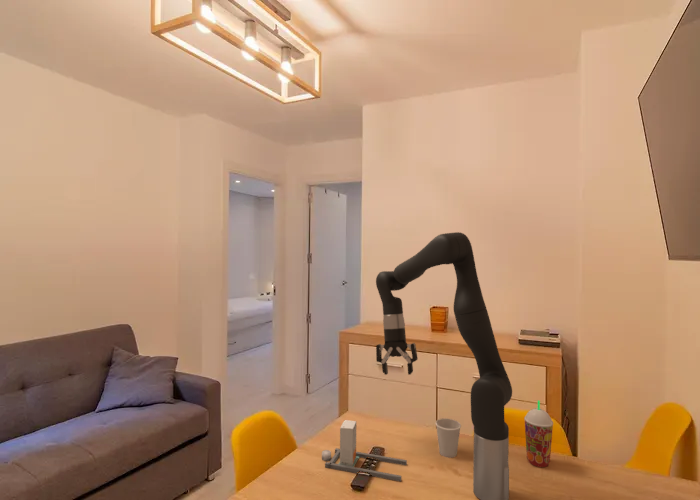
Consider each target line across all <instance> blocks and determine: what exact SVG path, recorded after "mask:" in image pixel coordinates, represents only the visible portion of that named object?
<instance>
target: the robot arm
mask: <svg viewBox="0 0 700 500" xmlns="http://www.w3.org/2000/svg"><path fill="white" fill-rule="evenodd" d="M440 265H441V266H442V265H453V267H454V273H455V276H456V289H455V293H454V300H453V314H454V317H455V322H456V325H457V329H458V331H459V333H460V334H459V335H460V336H461V338H462V339H463V341H464V343H465V344H466V345H467V347H468V348H469V350H470V351H471V353H472V354H473V356H474V358H475V361H476V366H477V369H478V374H479V378H478V379H477V380H476V381H474V383H473V384H472V386H471V388H470V418H471V422H472V425H473V466H472V467H473V472H472V473H473V477H472V478H473V483H472V486H473V488H472V489H473V491H472V492H473V493H474V495H475V498H478V499H479V500H510V465H509V453H510V452H509V449H510V448H509V447H510V446H509V445H510V444H509V443H510V442H509V441H510V440H509V438H510V436H509V435H510V434H509V433H510V432H509V429H510V428H509V425H508V424H507V422H506V421H505V406H506V405H507V404H508V403H509V402H510V401H511V399H512V396H513V387H512V384H511V381H510V379H509V375H508V372H507V371H506V368H505V366H504V363H503V361H502V358H501V355H500V353H499V350H498V345H497V342H496V338H495V335H494V331H493V327H492V324H491V320H490V315H489V313H488V312H489V311H488V309H487V305H486V303H485V300H484V297H483V292H482V289H481V285H480V281H479V277H478V273H477V272H478V271H477V268H476V262H475V257H474V252H473V246H472V243H471V241H470V239H469V238H468V236H467V235H466V234H465V233H463V232H460V231H459V232H458V231H457V232H447V233H440V234H438V235H437V236H435V237H434V238H432V239H431V241H429V242H428V243H427V244H426V245H425V246H424V247H423V248H422V249H420V251H418V252H417V253H416V254H415V255H413V256H411V257H410V258H408V259H406V260H405V261H403V262H401V263H399V264H398V265H397V266H396V267H395V268H394V270H393V271H392V270H391V271H387V270H386V271H385V270H384V271H383V270H382V271H380V272H379V273H378V274H377V275H376V279H375V283H376V284H375V285H376V289H377V291H378V295H379V298H380V301H381V304H382V313H383V315H382V316H383V320H382V321H383V322H382V323H383V324H382V325H383V337H384V344H381V343H379V344H376V345H375V346H376V347H375V348H376V349H375V350H376V351H375V352H376V356H375V357H376V362H377V363H381V368H382V369H381V370H382V373H383V375H385V376H386V375H388V374H389V370H388V369H389V368H388V360H389V359H390V358H391V357H392V358H393V357H399V358H400V357H402V358H403V359H404V360H405V361H406V362H407V375H412V373H413V371H414V366H413V363H415V362H416V361H418V352H417V344H416V343H415V342H412V343H407V337H406V323H405V317H404V310H403V309H404V308H403V302H402V301H403V300H402V298H400V297H398V296H395V295H393V293H392V291H393V292H395V291H400V290H404V288H406V286H407V285H408V284H409V283H410V282H412V281H416V280H417V279H419V278H420V277H421V276H423V275H424V273H426V271H427V270H429V269H430V268H434V267H437V266H440ZM407 349H409V350H410V351H411V352H410V353H411V356H410V355H409V353H408V351H406V350H407ZM383 350H385V355H384V356H383V358H382V352H383Z"/></svg>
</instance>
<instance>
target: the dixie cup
mask: <svg viewBox="0 0 700 500" xmlns="http://www.w3.org/2000/svg"><path fill="white" fill-rule="evenodd" d="M435 426H436V435H437V443H438V444H437V445H438V452H439V454H440V455H441V457H445V458H449V459H450V458H455V457H457V455H458V448H459V447H458V446H459V439H460V433H461V432H460V431H461V428H462V424H461V423H460V421H457V420H455V419H453V418H448V417H447V418H446V417H445V418H439V419H437V420H436V421H435Z"/></svg>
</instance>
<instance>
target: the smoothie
mask: <svg viewBox="0 0 700 500" xmlns="http://www.w3.org/2000/svg"><path fill="white" fill-rule="evenodd" d="M553 427H554V421H553V420H552V418H551V416H550V414H549V413H548V412H547V411H545V410H544V409H542V408H541V401H540V400H537V407H536V408H532V409H530V410H529V411H527V413H526V415H525V416H524V431H525V446H526V449H525V450H526V452H525V453H526V458H527V459H528V463H529V464H531V465H532V466H535V467H538V468H546V467H548V465H549V464H550V462H551V455H552V454H551V451H552V440H553Z"/></svg>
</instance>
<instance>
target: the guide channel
mask: <svg viewBox="0 0 700 500" xmlns="http://www.w3.org/2000/svg"><path fill="white" fill-rule="evenodd" d="M367 457H375V458H378V459H379V460H380V461H379V462H384V463H389V464H393V465H394V464H395V465H399V466H400V465H401V466H407V463H408V462H407V461H408V460H407V459H401V458H397V457H396V458H395V457H392V456H391V457H390V456H384V455H379V454H378V455H377V454H371V453H366V452H362V451H356V458H355V461H354V463H353V466H352V467H351V466H346V465H340V461H339V462H338V463H336V462H337V460H338V459H339V458H340V448H337V447H336V448H335V449H334V454H333V456H332V451H331V450H329V449H325V450H322V451H321V460H322V461H325V463H324V468H327V469H331V470H337V471H342V472H347V473H353V474H358V473H357V472H359V471H363V472H368V473H370V474H371V475H372V476H371V477H375V478H379V479H386V480H390V481H395V482H400V483H401V482H402V475H399V474H393V473H389V472H383V471H378V470H371V469H367V468H361V467H355V465H356V464H357V462H358V461H359V459H360V458H362V459H366V458H367Z"/></svg>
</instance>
